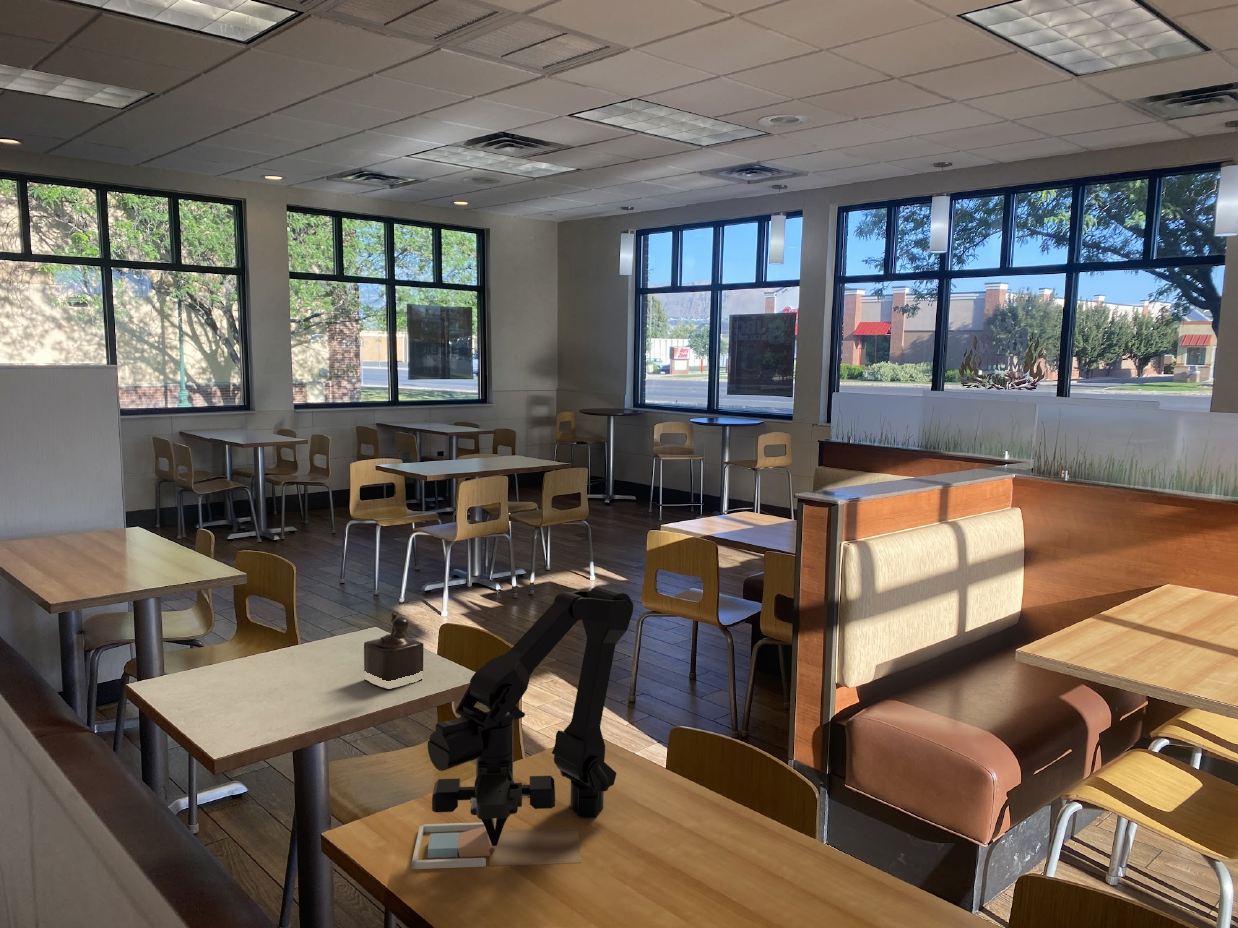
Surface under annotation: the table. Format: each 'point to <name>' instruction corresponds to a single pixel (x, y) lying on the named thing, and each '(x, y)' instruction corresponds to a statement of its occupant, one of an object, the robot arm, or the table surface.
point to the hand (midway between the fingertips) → (494, 844)
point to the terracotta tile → (474, 843)
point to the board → (536, 847)
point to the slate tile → (443, 845)
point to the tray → (445, 862)
